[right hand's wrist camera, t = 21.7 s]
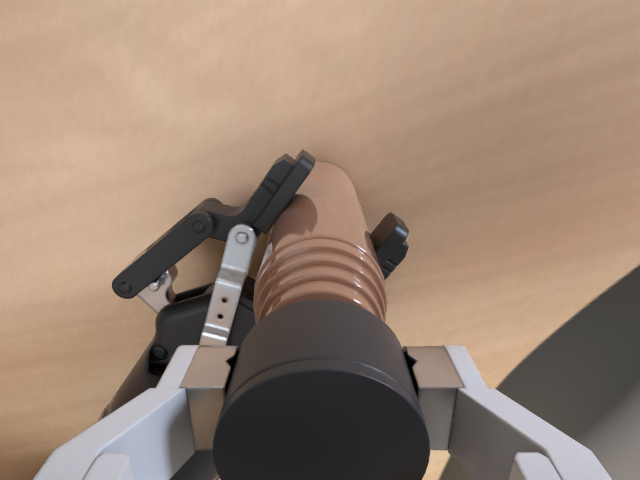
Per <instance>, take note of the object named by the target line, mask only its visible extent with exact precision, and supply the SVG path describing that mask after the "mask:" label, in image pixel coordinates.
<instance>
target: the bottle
mask: <svg viewBox="0 0 640 480" xmlns="http://www.w3.org/2000/svg"><path fill="white" fill-rule="evenodd" d="M312 299H331V300H339V301H343V302H347V303H351V304H354V305H356V306H359V307H362V308H363V309H365V310H367V311H370V312H371V313H373V314H374V315H375V316H377V317H378V318H380V319H381V320H382V321H383V322H384V323H385V320H386V311H387V296H386V285H385V280H384V277H383V273H382V270H381V267H380V264H379V261H378V258H377V255H376V252H375V249H374V246H373V242H372V239H371V236H370V233H369V230H368V227H367V224H366V221H365V218H364V215H363V212H362V209H361V205H360V202H359V199H358V196H357V193H356V190H355V187H354V184H353V182H352V180H351V179H350V177H349V176H348V174H347V173H346V172H345V171H344V170H342V169H341V168H339V167H338V166H336V165H333V164H331V163H327V162H315V165H314V167H313V169H312V170H311V172H310V174H309V175H308V176H307V178H306V179H305V181H304V182H303V183H302V185H301V186H300V188H299V189H298V190H297V192H296V193H295V195H294V196H293V197H292V199H291V200H290V202H289V203H288V204H287V206H286V207H285V209H284V210H283V211H282V213H281V214H280V215H279V217H278V218H277V219H276V221H275V223H274V224H273V226H272V229H271V233H270V236H269V239H268V242H267V246H266V249H265V252H264V255H263V259H262V262H261V265H260V268H259V271H258V275H257V278H256V282H255V289H254V302H253V306H254V314H255V322H256V324H257V323H258V322H259V321H260V320H261V319H262V318H264V317H265V316H267V315H268V314H270V313H271V312H273V311H275V310H277V309H279V308H280V307H282V306H286V305H288V304H291V303H295V302H299V301H303V300H312Z"/></svg>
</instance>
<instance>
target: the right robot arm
mask: <svg viewBox="0 0 640 480" xmlns="http://www.w3.org/2000/svg"><path fill="white" fill-rule="evenodd" d="M239 349H240V347H239V346H217V345H200V346H199V345H181V346H179V347H178V348H177V349H176V351H175V353H174V355H173V357H172V358H171V360H170V362H169V364H168V366H167V368H166V370H165V372H164V373H163V375H162V377H161V379H160V381H159V383H158V385H157V386H156V388H149V389H148V390H146V391H145V392H143V393H142V394H140V395H138V396H137V397H135V398H134V399H132V400H131V401H129V402H128V403H126V404H125V405H123V406H121V407H120V408H118V409H117V410H115V411H114V412H112V413H111V414H109V415H108V416H106V417H104V418H103V419H101V420H100V421H98V422H97V423H95V424H94V425H92V426H91V427H89V428H87V429H86V430H84V431H83V432H81V433H80V434H78V435H77V436H75V437H74V438H72V439H70V440H69V441H67V442H66V443H64V444H63V445H61V446H60V447H58V448H57V449H55V450H54V451H53V452H52V453H51V455H50V456H49V457H48V459H47V460H46V462H45V463H44V464H43V466H42V467H41V469H40V470H39V471H38V473H37V474H36V475H35V477H34V478H33V480H170V478H171V477H172V476H173V475H174V474H175V473H176V472H177V471H178V470H179V469H180V468H181V467H182V466H183V465H184V464H185V462H186V461H187V460H188V459H189V458H190V457H191V456H192V455H193V454H194V453H195V450H213V438H214V434H215V429H216V426H217V423H218V420H219V416H220V412H221V409H222V406H223V402H224V399H225V396H226V392H227V389H228V386H229V382H230V379H231V375H232V372H233V369H234V365H235V362H236V359H237V355H238V352H239ZM403 352H404V355H405V358H406V362H407V365H408V368H409V371H410V375H411V378H412V381H413V385H414V388H415V391H416V394H417V398H418V401H419V404H420V407H421V411H422V414H423V418H424V420H425V424H426V427H427V430H428V435H429V439H430V450H448V452H449V454H450V455H451V456H452V457H453V458H454V459H455V460H456V461H457V462H458V463H459V464H460V465H461V466H462V467H463V468H464V469H465V470H466V472H467V473H468V474H469V475H470V476H471V477H472V478H473V479H474V480H612V479H611V478H610V476H609V475H608V473H607V472H606V471H605V469H604V468H603V467H602V465H601V464H600V462H599V461H598V460H597V458H596V457H595V456H594V454H593V453H592V451H590V450H589V449H587V448H586V447H584V446H583V445H581V444H579V443H578V442H576V441H575V440H573V439H572V438H570V437H569V436H567V435H565V434H564V433H562V432H561V431H559V430H558V429H556V428H555V427H553V426H551V425H550V424H548V423H547V422H545V421H544V420H542V419H541V418H539V417H537V416H536V415H534V414H533V413H531V412H530V411H528V410H527V409H525V408H524V407H522V406H520V405H519V404H517V403H516V402H514V401H513V400H511V399H510V398H508V397H506V396H505V395H503V394H502V393H500V392H499V391H497V390H496V389H494V388H487V386H486V384H485V382H484V381H483V379H482V377H481V375H480V373H479V372H478V370H477V368H476V366H475V364H474V362H473V361H472V359H471V357H470V355H469V353H468V352H467V350H466V348H465V347H464V346H463V345H442V346H403Z"/></svg>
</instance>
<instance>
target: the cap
mask: <svg viewBox="0 0 640 480" xmlns="http://www.w3.org/2000/svg"><path fill="white" fill-rule="evenodd" d="M212 451H213V459H214V464H215V467H216V470H217V473H218V475H219V477H220V479H221V480H422V478H423V476H424V474H425V472H426V469H427V466H428V462H429V456H430V439H429V435H428V430H427V427H426V424H425V420H424V418H423V414H422V411H421V407H420V404H419V401H418V398H417V394H416V391H415V388H414V385H413V381H412V378H411V375H410V371H409V368H408V365H407V362H406V358H405V355H404V352H403V349H402V347H401V344H400V342H399V340H398V339H397V337H396V335H395V334H394V332H393V331H392V330H391V329H390V328H389V326H388V325H387V324H385V323H384V322H383V321H382V320H381V319H380V318H378V317H377V316H375V315H374V314H373V313H371V312H370V311H367V310H365V309H363V308H362V307H359V306H356V305H354V304H351V303H347V302H343V301H339V300H331V299H312V300H303V301H299V302H295V303H291V304H288V305H286V306H282V307H280V308H279V309H277V310H275V311H273V312H271V313H270V314H268V315H267V316H265V317H264V318H262V319H261V320H260V321H259V322H258V323H257V324H256V325H254V327H253V328H252V329H251V330H250V331H249V333H248V334H247V335H246V337H245V339H244V340H243V342H242V344H241V347H240V349H239V352H238V355H237V359H236V362H235V365H234V369H233V372H232V375H231V379H230V382H229V386H228V389H227V392H226V396H225V399H224V402H223V406H222V409H221V412H220V416H219V420H218V423H217V426H216V429H215V434H214V438H213V450H212Z"/></svg>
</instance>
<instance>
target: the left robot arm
mask: <svg viewBox="0 0 640 480" xmlns="http://www.w3.org/2000/svg"><path fill="white" fill-rule="evenodd" d="M314 165H315V158H314V157H313V156H311V155H310V154H308V153H307V152H306V151H304V150H302V151H301V152H300V153H299V155H298V156H297V157H296V159H293V158H292V157H290V156H289V155H287V154H285V155H283V156H282V157H280V158H279V159H277V160H276V161H275V163H274V164H273V166H272V167H271V169H270V170H269V172H268V173H267V175H266V176H265V178H264V179H263V181H262V182H261V184H260V185H259V187H258V188H257V189H256V191H255V192H254V194H253V195H252V197H251V198H250V200H249V201H248V202H247V203H246V204H245V205H243V206H240V207H232V206H228V205H224V204H222V203H221V202H220V201H219V200H217V199H215V198H208V199H205V200H204V201H203V202H201V203H200V204H199V205H198V206H197V207H196V208H194V209H193V210H192V211H191V212H190V213H188V214H187V215H186V216H185V217H184V218H182V219H181V220H180V221H179V222H178V223H176V224H175V225H174V226H173V227H172V228H171V229H169V230H168V231H167V232H166V233H165V234H163V235H162V236H161V237H160V238H159V239H157V240H156V241H155V242H154V243H153V244H151V245H150V246H149V247H148V248H147V249H145V250H144V251H143V252H142V253H141V254H140V255H138V256H137V257H136V258H135V259H134V260H133V261H132V262H131V263H130V264H129V265H128V266H127V267H126V268H125V269H124V270H123V271H122V272H121V273H120V274H119V275H118V276H117V277H116V278H115V279H114V280H113V282H112V288H113V291H114V292H115V293H116V294H117V295H118V296H119V297H122V298H125V299H130V298H133V297H135V296H136V295H137V296H138V297H140V298H141V299H142V300H143V301H144V302H145V303H146V304H147V305H148V306H149V307H151V308H152V309H153V310H154V311H155V312H156V313H157V314H158V315H157V318H156V334H155V337H154V338H153V340H152V341H151V343H150V344H149V346H148V347H147V349H146V350H145V352H144V353H143V355H142V356H141V357H140V359H139V360H138V362H137V363H136V365H135V366H134V368H133V369H132V371H131V372H130V374H129V375H128V377H127V378H126V380H125V381H124V383H123V384H122V386H121V387H120V389H119V390H118V392H117V393H116V394H115V396H114V397H113V399H112V400H111V402H110V403H109V404H108V405H107V406H106V408H105V409H104V410H103V412H102V414H101V416H100V418H99V420H98V421H100V420H101V419H103V418H104V417H106V416H108V415H109V414H111V413H112V412H114V411H115V410H117V409H118V408H120V407H121V406H123V405H125V404H126V403H128V402H129V401H131V400H132V399H134V398H135V397H137V396H138V395H140V394H142V393H143V392H145V391H146V390H148V389H149V388H156V386H157V385H158V383H159V381H160V379H161V377H162V375H163V373H164V372H165V370H166V368H167V366H168V364H169V362H170V360H171V358H172V357H173V355H174V353H175V351H176V349H177V348H178V347H179V346H181V345H199V346H200V345H217V346H239V347H241V344H242V342H243V340H244V339H245V337H246V335H247V334H248V333H249V331H250V330H251V329H252V328H253V327H254V325H256V322H255V314H254V306H253V302H254V289H255V282H256V280H254V279H253V278H251V277H250V276H248V274H249V270H250V267H251V263H252V260H253V256H254V252H255V248H256V244H257V241H258V237H259V235H260V234H261V232H263V233H265V234H267V232H268V231H269V230H270V228H271V227H272V225H273V224H274V223H275V221H276V219H277V218H278V217H279V215H280V214H281V213H282V211H283V210H284V209H285V207H286V206H287V204H288V203H289V202H290V200H291V199H292V197H293V196H294V195H295V193H296V192H297V190H298V189H299V188H300V186H301V185H302V183H303V182H304V181H305V179H306V178H307V176H308V175H309V174H310V172H311V170H312V169H313V167H314ZM408 233H409V230H408V229H407V227H406V225H405V223H404V222H403V221H402V220H401V219H400V218H398V217H397V216H396V215H394V214H393V213H389V214H387V215H386V216H385V217H384V219H383V220H382V221H381V222H380V224H379V225H378V226H377V227H376V228H375V230H374V231H373V232H372V233H371V234H370V236H371V239H372V242H373V246H374V249H375V252H376V255H377V258H378V261H379V264H380V267H381V270H382V273H383V277H384V280H385V279H386V278H387V277H388V276H389V275H390V274H391V272H392V271H393V270H394V269H395V268H396V266H398V264H399V263H400V262H401V261H402V260H403V259H404V258H405V255H406V253H407V250H408V245H407V243H406V241H405V239H406V238H407V236H408ZM208 237H210V238H214V239H218V240H222V241H226V242H227V243H226V247H225V251H224V255H223V259H222V263H221V266H220V269H219V272H218V275H217V278H216V281H215V282H213V283H210V284H207V285H204V286H200V287H197V288H194V289H190V290H187V291H184V292H181V293H177V294H175V293H174V292H173V289H172V283H173V282H174V280H175V279H176V277H177V275H178V271H177V268H176V266H175V264H176V263H177V262H178V261H179V260H181V259H182V258H183V257H184V256H186V255H187V254H188V253H189V252H190V251H192V250H193V249H194V248H195V247H197V246H198V245H199V244H200V243H202V242H203V241H204V240H205V239H207V238H208ZM219 478H220V477H219V475H218V473H217V470H216V467H215V464H214V459H213V451H212V450H195V453H194V454H193V455H192V456H191V457H190V458H189V459H188V460H187V461H186V462H185V464H184V465H183V466H182V467H181V468H180V469H179V470H178V471H177V472H176V473H175V474H174V475H173V476H172V477H171V478H170V480H219Z"/></svg>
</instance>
